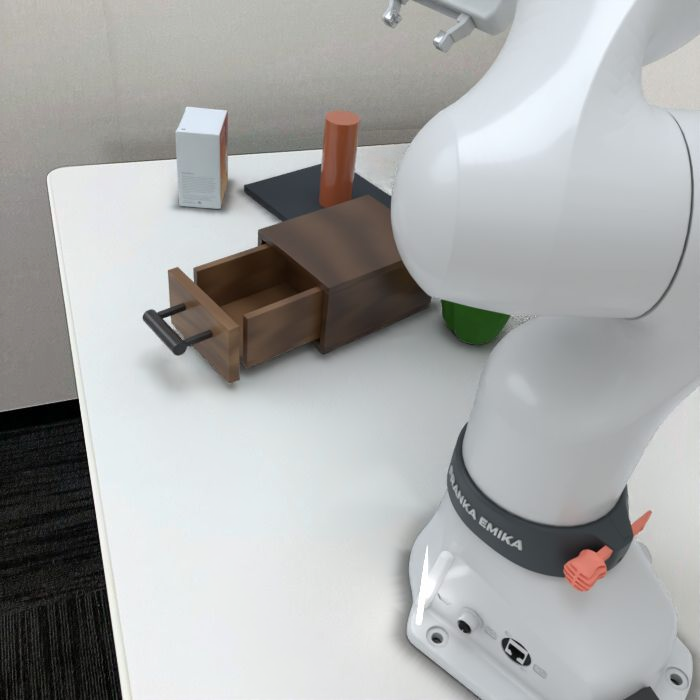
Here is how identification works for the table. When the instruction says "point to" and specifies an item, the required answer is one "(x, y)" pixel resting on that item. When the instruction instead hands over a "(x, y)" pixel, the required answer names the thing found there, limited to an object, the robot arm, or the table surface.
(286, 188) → the mat
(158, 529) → the table surface
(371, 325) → the cabinet
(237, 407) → the table surface
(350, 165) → the orange cylinder
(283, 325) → the drawer
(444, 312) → the bell pepper
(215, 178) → the small box
